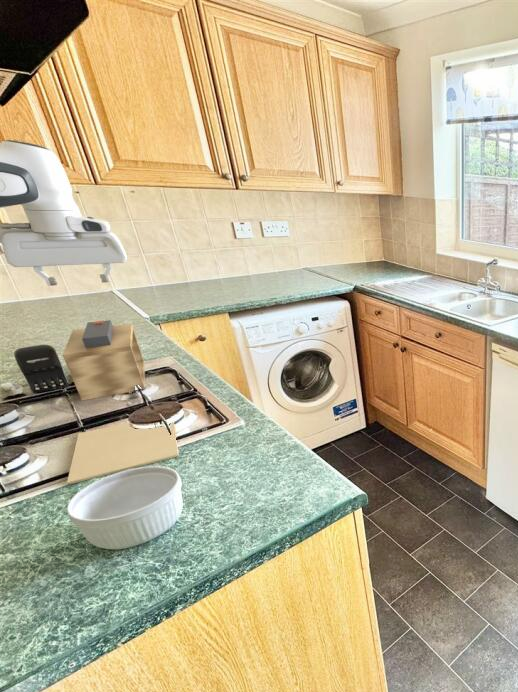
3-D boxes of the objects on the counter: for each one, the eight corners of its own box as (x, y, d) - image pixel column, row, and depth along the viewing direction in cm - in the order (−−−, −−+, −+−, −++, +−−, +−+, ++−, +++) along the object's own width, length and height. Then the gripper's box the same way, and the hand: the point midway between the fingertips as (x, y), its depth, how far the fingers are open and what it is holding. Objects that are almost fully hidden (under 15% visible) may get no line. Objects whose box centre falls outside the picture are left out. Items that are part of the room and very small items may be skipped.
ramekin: (195, 489, 76) (185, 457, 73) (184, 539, 65) (172, 505, 62) (98, 510, 70) (83, 477, 67) (69, 569, 59) (50, 532, 56)
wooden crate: (81, 400, 102) (62, 354, 97) (89, 371, 116) (72, 330, 111) (145, 389, 109) (130, 346, 104) (144, 363, 123) (131, 323, 118)
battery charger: (31, 395, 102) (10, 352, 98) (30, 390, 105) (10, 347, 100) (71, 388, 107) (53, 346, 102) (69, 383, 109) (52, 341, 105)
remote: (85, 348, 101) (81, 337, 100) (90, 331, 111) (86, 321, 110) (111, 344, 104) (107, 334, 103) (113, 328, 114) (110, 319, 113)
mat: (67, 484, 75) (66, 482, 75) (79, 435, 89) (78, 433, 89) (178, 456, 84) (178, 454, 84) (173, 415, 98) (172, 413, 98)
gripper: (-15, 224, 88) (14, 290, 93) (115, 224, 100) (134, 282, 105) (-8, 221, 92) (20, 284, 98) (116, 221, 104) (134, 278, 110)
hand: (80, 283), depth 102 cm, fingers open, 8 cm apart
